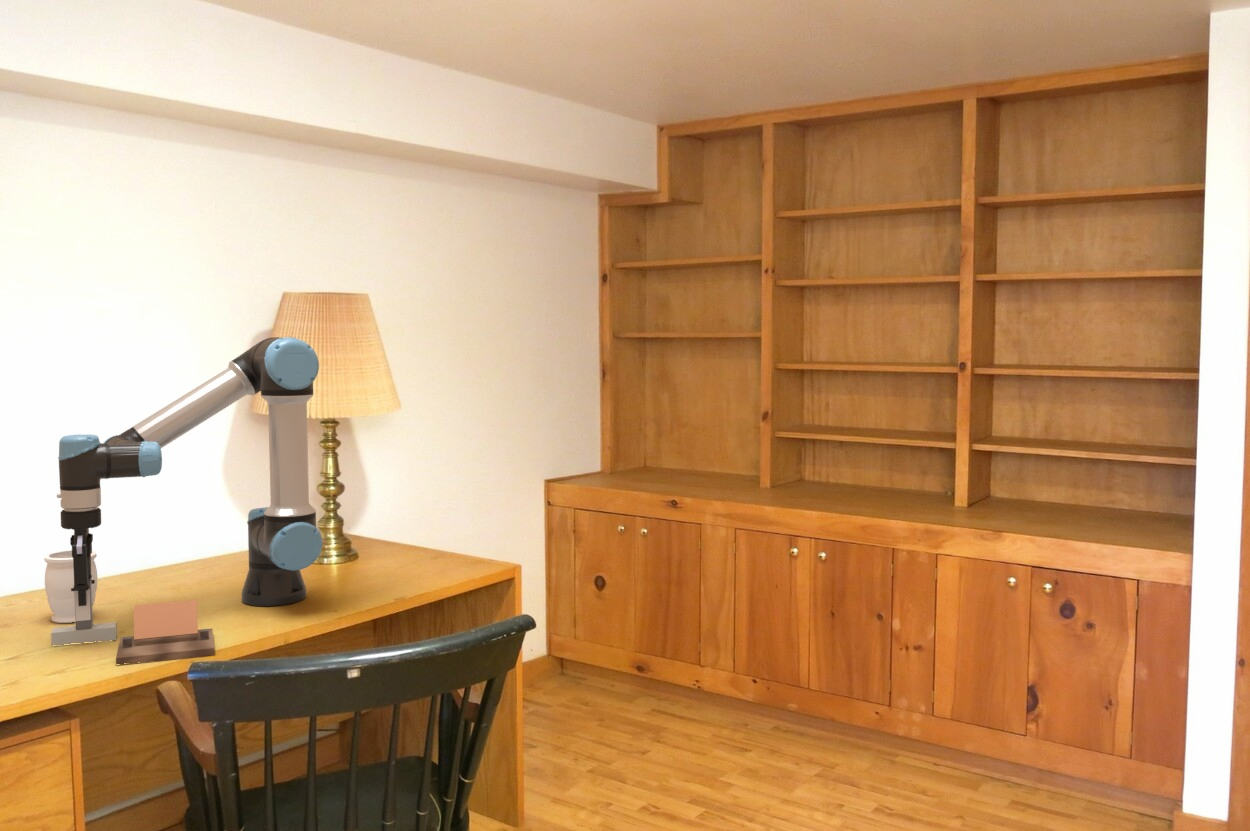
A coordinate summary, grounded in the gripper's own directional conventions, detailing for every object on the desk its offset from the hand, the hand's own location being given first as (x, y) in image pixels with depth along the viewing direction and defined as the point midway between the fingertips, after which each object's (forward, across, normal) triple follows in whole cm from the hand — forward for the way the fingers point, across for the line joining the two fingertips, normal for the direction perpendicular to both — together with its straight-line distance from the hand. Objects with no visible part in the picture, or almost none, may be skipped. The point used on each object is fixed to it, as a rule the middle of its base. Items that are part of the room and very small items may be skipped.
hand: (84, 617), depth 215 cm
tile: (0, +10, +16) cm, 19 cm away
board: (+5, +12, +16) cm, 21 cm away
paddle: (+5, 0, 0) cm, 5 cm away
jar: (+5, -20, -4) cm, 21 cm away
